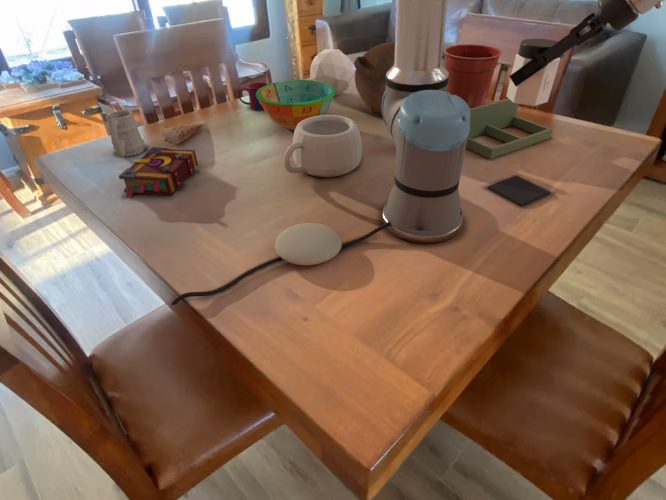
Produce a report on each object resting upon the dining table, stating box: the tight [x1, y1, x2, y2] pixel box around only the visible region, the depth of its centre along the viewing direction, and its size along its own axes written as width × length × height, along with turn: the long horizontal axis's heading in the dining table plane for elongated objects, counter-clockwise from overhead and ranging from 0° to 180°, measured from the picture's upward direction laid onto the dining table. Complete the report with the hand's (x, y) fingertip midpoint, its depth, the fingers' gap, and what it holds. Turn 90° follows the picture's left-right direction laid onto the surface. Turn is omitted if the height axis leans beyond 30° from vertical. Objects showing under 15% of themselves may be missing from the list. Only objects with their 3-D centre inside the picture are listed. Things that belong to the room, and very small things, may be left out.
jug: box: [353, 41, 395, 115], centre depth 122 cm, size 20×20×30 cm
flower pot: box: [443, 43, 503, 109], centre depth 130 cm, size 16×16×16 cm
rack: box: [465, 98, 553, 160], centre depth 111 cm, size 22×13×8 cm, turn 121°
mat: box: [487, 175, 552, 207], centre depth 92 cm, size 9×9×1 cm
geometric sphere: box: [309, 48, 354, 97], centre depth 143 cm, size 14×15×15 cm
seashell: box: [161, 123, 205, 145], centre depth 118 cm, size 4×18×5 cm, turn 159°
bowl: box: [256, 79, 336, 131], centre depth 122 cm, size 22×22×10 cm
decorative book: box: [118, 146, 199, 198], centre depth 98 cm, size 11×16×5 cm
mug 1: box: [105, 109, 146, 158], centre depth 108 cm, size 8×12×12 cm, turn 5°
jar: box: [505, 38, 561, 107], centre depth 94 cm, size 9×8×12 cm
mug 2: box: [283, 114, 363, 178], centre depth 100 cm, size 21×17×10 cm
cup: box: [237, 81, 269, 111], centre depth 136 cm, size 7×10×7 cm
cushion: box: [274, 222, 343, 266], centre depth 76 cm, size 12×12×3 cm
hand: (520, 76), depth 96 cm, fingers closed on jar, 8 cm apart
